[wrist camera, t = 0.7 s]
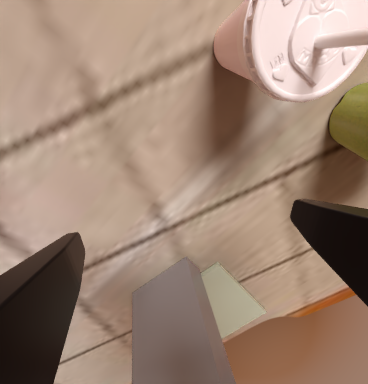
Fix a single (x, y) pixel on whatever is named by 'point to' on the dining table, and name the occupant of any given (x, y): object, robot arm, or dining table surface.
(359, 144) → the plant pot
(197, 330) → the slate tile
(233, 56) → the smoothie
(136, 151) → the dining table surface
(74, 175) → the dining table surface
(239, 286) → the pad
